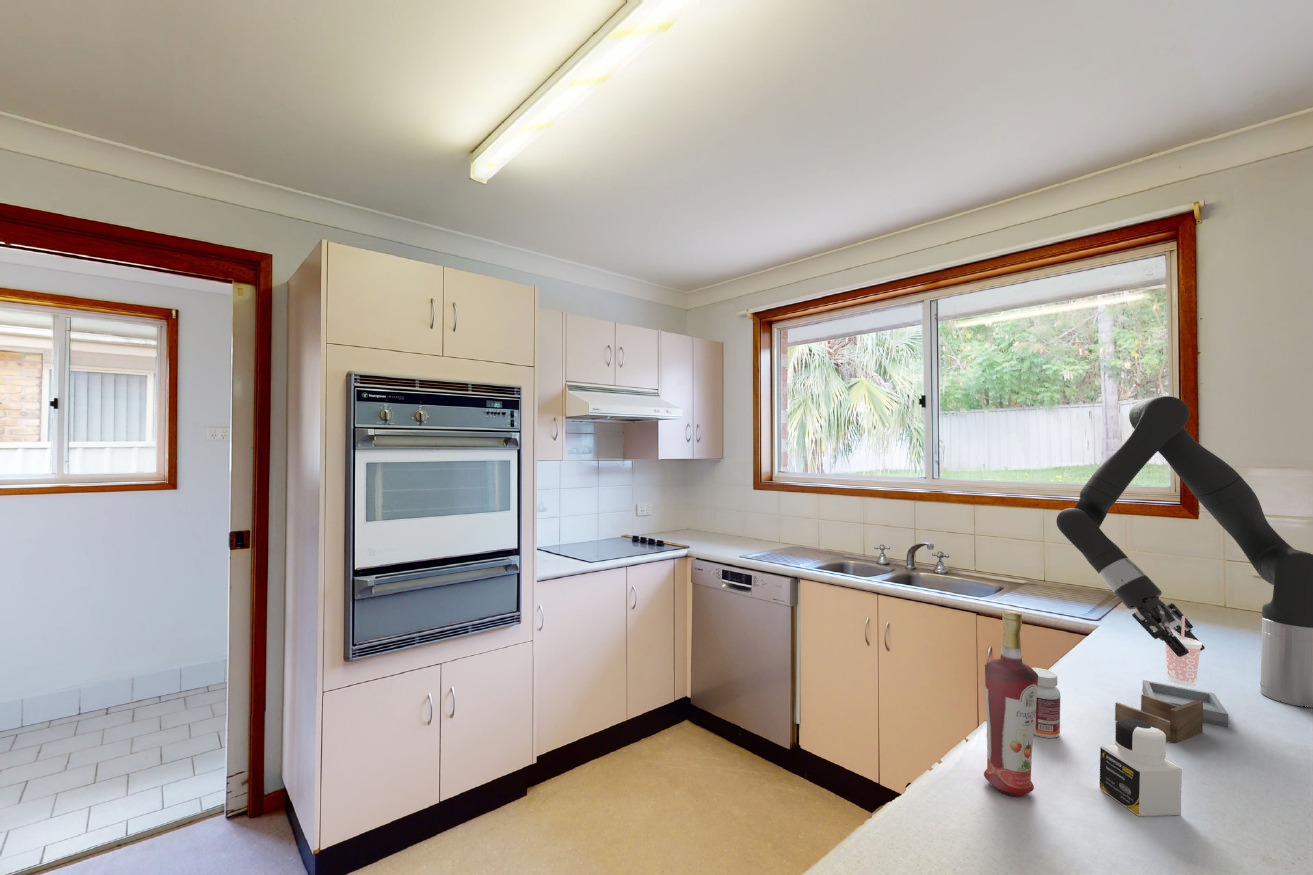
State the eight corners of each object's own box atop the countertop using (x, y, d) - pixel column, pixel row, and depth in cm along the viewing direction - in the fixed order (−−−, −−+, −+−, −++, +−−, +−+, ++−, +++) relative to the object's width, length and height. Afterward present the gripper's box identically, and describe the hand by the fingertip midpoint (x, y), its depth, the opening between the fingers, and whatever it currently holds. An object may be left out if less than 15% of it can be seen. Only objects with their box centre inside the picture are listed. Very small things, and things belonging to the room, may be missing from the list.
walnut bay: (1202, 731, 115) (1203, 701, 115) (1174, 743, 110) (1175, 710, 110) (1142, 710, 124) (1143, 681, 124) (1115, 720, 119) (1115, 690, 119)
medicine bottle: (1098, 788, 95) (1099, 714, 95) (1139, 787, 95) (1141, 713, 95) (1138, 817, 88) (1139, 736, 88) (1182, 815, 88) (1184, 735, 88)
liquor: (1014, 806, 90) (1018, 621, 90) (971, 780, 96) (975, 608, 96) (1046, 796, 92) (1050, 617, 93) (1002, 771, 99) (1006, 604, 99)
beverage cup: (1170, 684, 124) (1172, 618, 124) (1157, 674, 130) (1159, 610, 130) (1206, 690, 122) (1209, 622, 122) (1191, 678, 128) (1194, 614, 128)
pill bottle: (1065, 733, 113) (1067, 674, 113) (1050, 742, 109) (1051, 681, 110) (1030, 720, 118) (1032, 663, 118) (1015, 728, 115) (1016, 669, 115)
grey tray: (1214, 705, 127) (1214, 693, 127) (1228, 726, 117) (1228, 714, 117) (1142, 690, 134) (1142, 679, 134) (1149, 710, 124) (1150, 698, 124)
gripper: (1126, 576, 129) (1192, 649, 119) (1160, 571, 136) (1225, 640, 125) (1098, 594, 134) (1159, 665, 124) (1132, 589, 141) (1193, 656, 130)
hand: (1192, 652), depth 124 cm, fingers closed on beverage cup, 6 cm apart
